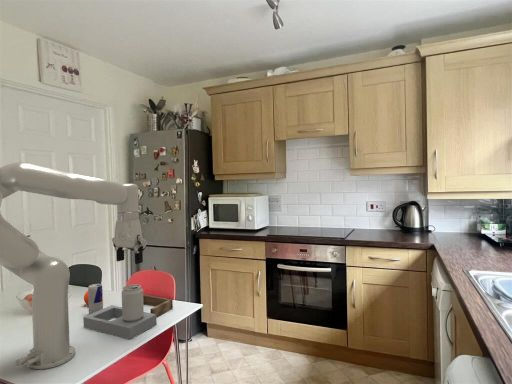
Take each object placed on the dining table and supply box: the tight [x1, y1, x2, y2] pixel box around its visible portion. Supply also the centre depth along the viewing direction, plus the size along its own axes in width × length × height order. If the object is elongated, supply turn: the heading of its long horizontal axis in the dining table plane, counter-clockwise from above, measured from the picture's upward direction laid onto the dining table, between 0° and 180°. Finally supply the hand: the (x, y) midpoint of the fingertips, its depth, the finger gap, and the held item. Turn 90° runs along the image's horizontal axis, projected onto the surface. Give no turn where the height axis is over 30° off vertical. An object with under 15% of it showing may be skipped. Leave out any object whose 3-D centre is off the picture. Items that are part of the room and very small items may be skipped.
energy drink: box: [87, 283, 104, 315], centre depth 137 cm, size 5×5×12 cm
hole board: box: [82, 305, 158, 340], centre depth 125 cm, size 13×24×4 cm, turn 65°
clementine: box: [83, 290, 89, 306], centre depth 148 cm, size 8×7×7 cm
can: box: [121, 283, 145, 322], centre depth 122 cm, size 8×8×12 cm
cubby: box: [143, 294, 174, 318], centre depth 140 cm, size 12×16×4 cm
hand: (129, 261), depth 123 cm, fingers open, 9 cm apart
